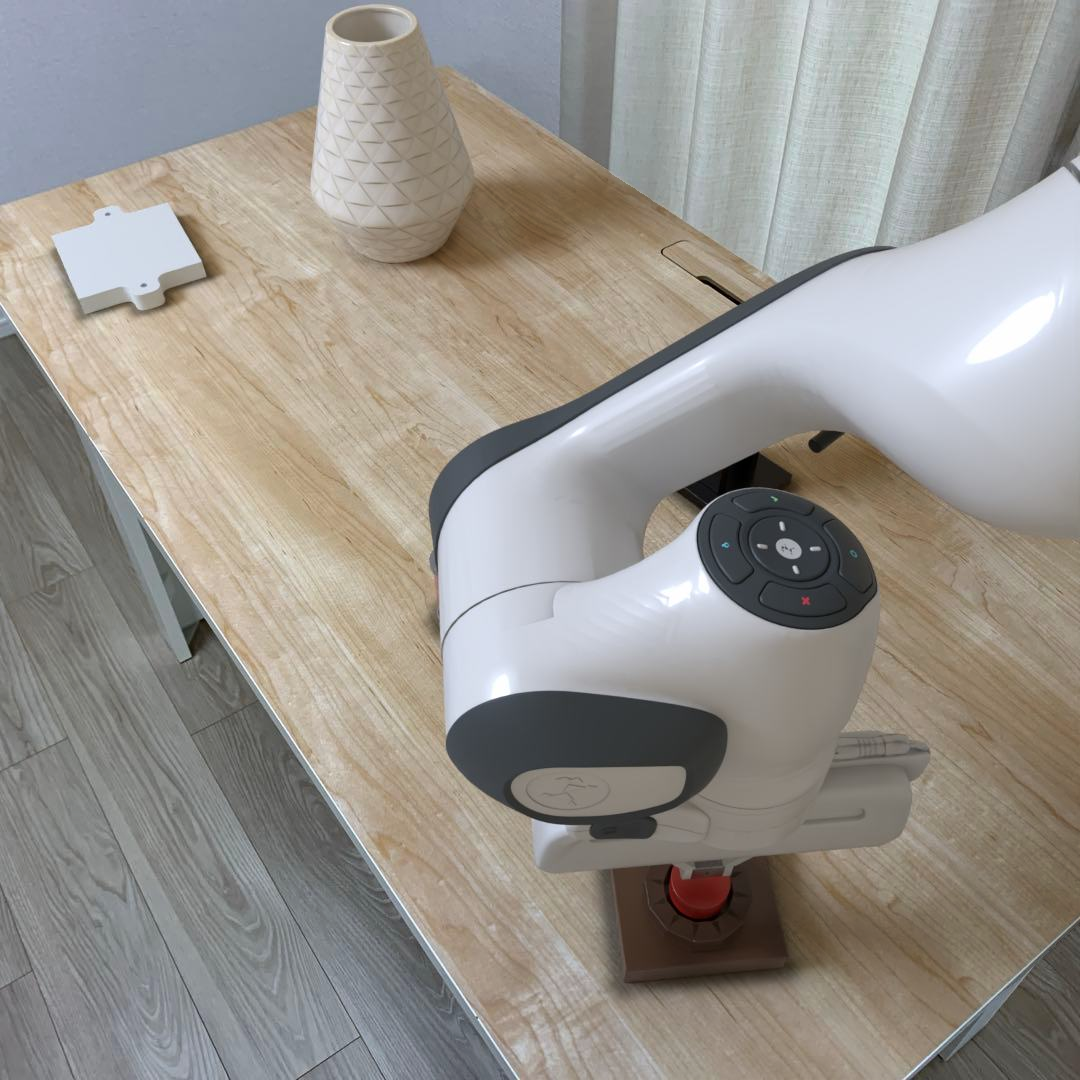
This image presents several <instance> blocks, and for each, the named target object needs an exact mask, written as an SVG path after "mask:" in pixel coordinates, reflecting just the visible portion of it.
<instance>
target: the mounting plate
mask: <svg viewBox="0 0 1080 1080" xmlns="http://www.w3.org/2000/svg"><path fill="white" fill-rule="evenodd" d="M92 216H93V219H94V220H93V222H92V223H90V224H87V225H83V226H79V227H76V228H72V229H69V230H66V231H62V232H59V233H54V234H51V235H50V237H51V239H52V241H53V244H54V246H55V248H56V251H57V253H58V255H59V258H60V260H61V263H62V265H63V267H64V270H65V272H66V274H67V276H68V278H69V281H70V284H71V285H72V288H73V290H74V292H75V295H76V297H77V299H78V301H79V304H80V307H81V308H82V311H83V314H84V315H88V314H91V313H95V312H97V311H98V312H99V311H100V310H104V309H107V308H110V307H114V306H116V305H120V304H124V303H133V304H134V306H135V308H136V309H138V310H139V311H149V310H153V309H155V308H159V307H161V306H163V305H164V304H165V303H166V298H165V295H164V294H165V291H167V290H169V289H171V288H175V287H178V286H181V285H185V284H188V283H191V282H195V281H197V280H201V279H205V278H207V273H206V270H205V267H204V264H203V263H204V262H203V261H202V258H201V257H200V256H199V254H198V252H197V251H196V249H195V247H194V245H193V244H192V242H191V240H190V238H189V236H188V235H187V233H186V232H185V230H184V228H183V226H182V224H181V223H180V221H179V219H178V218H177V216H176V214H175V213H174V211H173V209H172V208H171V206H170V204H169V202H164V203H160V204H157V205H153V206H149V207H146V208H143V209H139V210H135V211H133V212H124V211H123V210H122V209H121V207H120V206H118V205H108V206H105V207H101V208H98V209H97V210H95V211H94V212H92Z"/></svg>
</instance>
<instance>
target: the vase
mask: <svg viewBox="0 0 1080 1080" xmlns="http://www.w3.org/2000/svg"><path fill="white" fill-rule="evenodd" d="M324 29H325V30H324V39H323V51H322V61H321V70H320V81H319V92H318V99H317V100H318V102H317V103H318V104H317V111H316V121H315V131H314V132H315V133H314V141H313V152H312V163H311V172H310V183H309V186H310V187H309V188H310V194H311V197H312V200H313V202H314V203H315V206H316V207H317V209H318V210H319V211H320V212H321V213H322V214H323V215H324V216H325V218H327V220H329V222H330V223H331V224H332V225H333V226H334V227H335V228H336V229H337V230H338V232H339V233H340V234H341V235H342V236H343V237H344V238H345V239H346V241H347V242H348V243H349V244H350V245H351V246H352V247H353V248H354V249H355V251H357V252H358V253H359V254H360V255H362V256H363V257H365V258H368V259H370V260H373V261H376V262H381V263H388V264H403V263H410V262H415V261H418V260H422V259H425V258H427V257H429V256H430V255H433V254H434V253H436V252H438V251H439V250H440V249H441V248H442V247H443V246H444V245H445V243H446V242H447V241H448V239H449V237H450V235H451V234H452V231H453V229H454V228H455V226H456V224H457V222H458V220H459V218H460V216H461V214H462V213H463V210H464V208H465V207H466V204H467V202H468V200H469V199H470V197H471V195H472V193H473V190H474V186H475V181H476V180H475V179H476V178H475V169H474V166H473V163H472V160H471V157H470V154H469V153H468V149H467V147H466V145H465V142H464V139H463V137H462V134H461V131H460V128H459V126H458V124H457V123H458V122H457V121H456V118H455V115H454V113H453V110H452V107H451V104H450V102H449V99H448V97H447V94H446V91H445V89H444V86H443V84H442V83H443V82H442V81H441V78H440V75H439V72H438V69H437V67H436V65H435V61H434V59H433V56H432V54H431V52H430V49H429V46H428V44H427V40H426V38H425V35H424V33H423V30H422V28H421V25H420V22H419V19H418V17H417V15H415V13H414V12H412V11H410V10H408V9H407V8H405V7H402V6H399V5H392V4H385V3H370V4H369V3H368V4H362V5H356V6H352V7H349V8H346V9H344V10H340V11H339V12H337V13H335V14H334V15H333V16H332V17H330V19H329V20H328V21H327V22H326V25H325V28H324Z"/></svg>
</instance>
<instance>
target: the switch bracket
mask: <svg viewBox="0 0 1080 1080" xmlns="http://www.w3.org/2000/svg"><path fill="white" fill-rule="evenodd" d="M792 479H793V474H792V473H791V472H789V471H787V470H786V469H785V468H783V467H782V466H780V465H779V464H777V463H776V462H774V461H773V460H771V459H770V458H768V457H767V456H766V455H764V454H763V453H761V452H760V451H759V452H757V453H755V454H753V455H751V456H748V457H746V458H744V459H742V460H740V461H738V462H736V463H734V464H732V465H730V466H728V467H726V468H724V469H721V470H719V471H717V472H715V473H713V474H711V475H709V476H707V477H705V478H703V479H701V480H699V481H697V482H694V483H692V484H690V485H688V486H686V487H684V488H682V489H680V490H678V491H676V492H675V493H678V494H679V495H681V497H683V498H684V499H685V500H687V501H688V502H690V503H691V504H693V506H695V507H696V508H698V509H699V510H701V511H702V510H703V509H704V508H705V507H706V506H707V505H708V504H709V503H710V502H712V501H713V500H714V499H716V498H718V497H719V496H721V495H724V494H726V493H728V492H731V491H735V490H739V489H745V488H770V489H777V490H782V491H784V490H785V489H786V488H787V487H788V486H790V485H791V483H792Z"/></svg>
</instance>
